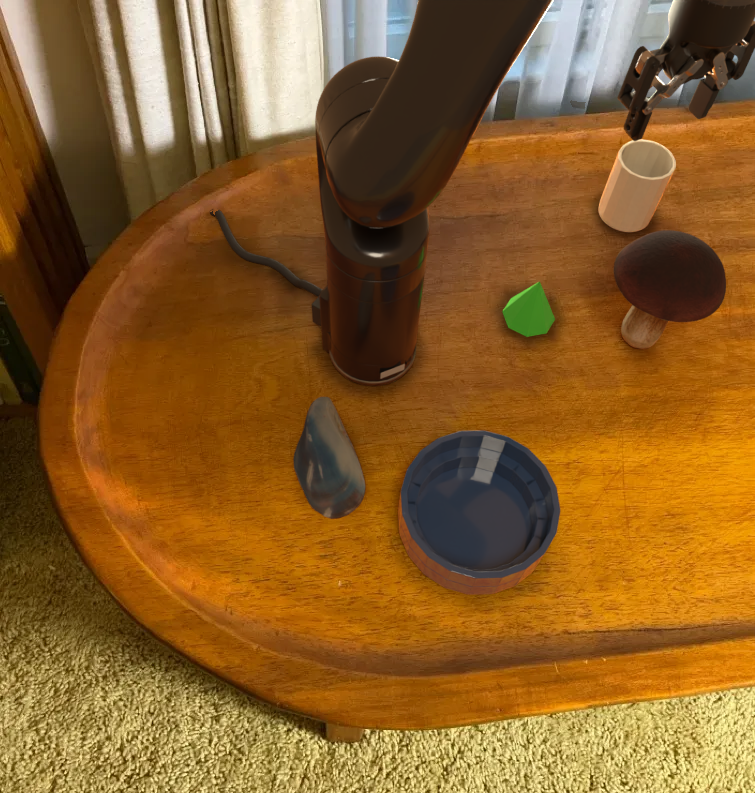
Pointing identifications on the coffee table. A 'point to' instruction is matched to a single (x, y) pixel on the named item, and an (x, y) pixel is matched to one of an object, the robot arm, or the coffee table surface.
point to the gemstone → (529, 312)
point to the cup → (636, 185)
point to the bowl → (477, 511)
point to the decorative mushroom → (667, 283)
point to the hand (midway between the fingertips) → (664, 124)
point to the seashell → (328, 463)
